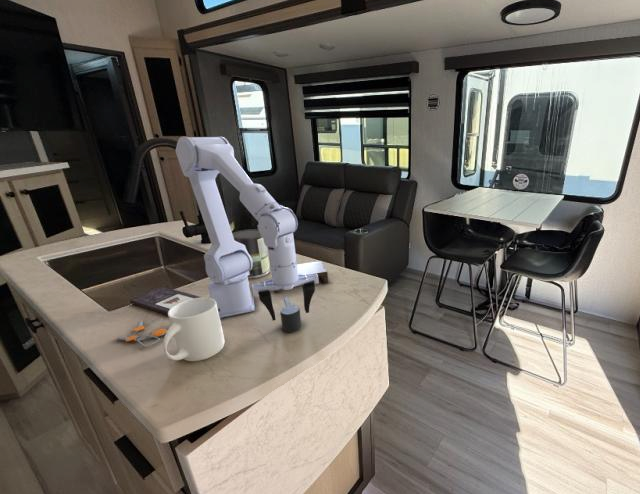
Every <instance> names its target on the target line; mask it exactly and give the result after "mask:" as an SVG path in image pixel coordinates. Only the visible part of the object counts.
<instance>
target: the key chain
mask: <svg viewBox="0 0 640 494" xmlns="http://www.w3.org/2000/svg"><path fill="white" fill-rule="evenodd" d="M145 328H146V327H145V325H144V320H142V321H139V322H138V324H137V327H135V328H133V331H134V333H133V334H132V335H130V336H117V338H116V340H119V341H125V342H132V341H135V342H137V343H138V344H140V345H141V346H142V347H144V348H148V347H150V346H152V345H155V344H156V343H158V342H159V341H160V340H161V338H160V337H163V336H165V335H166V332H167V331H168V328H159V329H157V330H154V331H152V332H151V333H150V334H144V333H139V334H137V333H138V332H139V331H142V330H144V329H145ZM147 338H148V339H152V338H154V339H157V340H155V341H153V342H151V343H149V344H144V343H143V342H142V341H144V340H146V339H147Z"/></svg>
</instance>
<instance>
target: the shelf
mask: <svg viewBox="0 0 640 494" xmlns="http://www.w3.org/2000/svg"><path fill="white" fill-rule="evenodd" d="M297 269H298V275H299V274H314V273H317V275H318V277H320V279H321V280H322V282H323V283H324V284H329V276H328V275H329V274H328V271H327V268H326V267H325V265H324V264H323V263H322V261H321V260H318V261H312V262H304V263H299V264H298V263H297ZM274 293H275V294H277V293H280V289H279V290H274Z"/></svg>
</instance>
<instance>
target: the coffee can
mask: <svg viewBox="0 0 640 494" xmlns="http://www.w3.org/2000/svg"><path fill="white" fill-rule="evenodd" d="M232 234H233V238H234V240H235V241H236V242H239V243H241V244H243V245H245V247H246V250H247V252H248V253H249V255H250V256H251V258H252V261H253V266H252V269H251V270H250V271H249V273H250V275H248V280H250V279H258V278H262V277H264V276H267V275H268V274H269V273H271V268H270V261H269V255H268V248H267V246H265V244H264V240H263V237H262V235H261V234H260V232H259V230H258V228H257V229H256V228H255V229H254V228H252V229H242V230H238V231H235V232H232Z"/></svg>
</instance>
